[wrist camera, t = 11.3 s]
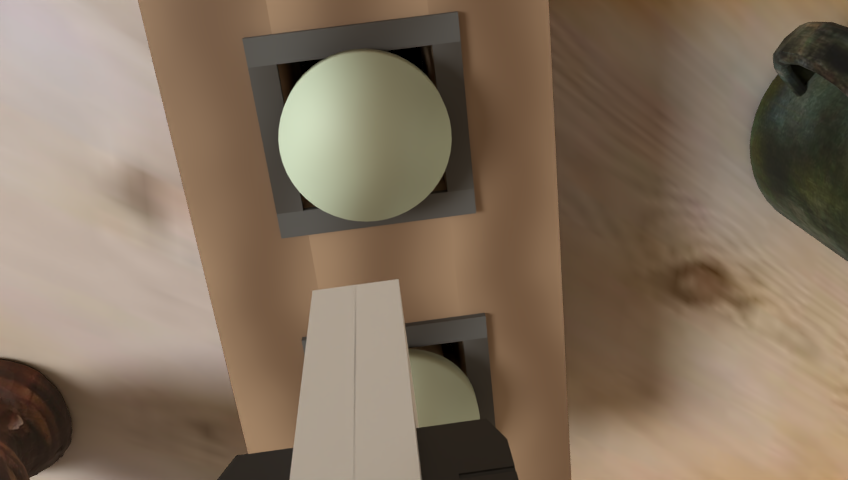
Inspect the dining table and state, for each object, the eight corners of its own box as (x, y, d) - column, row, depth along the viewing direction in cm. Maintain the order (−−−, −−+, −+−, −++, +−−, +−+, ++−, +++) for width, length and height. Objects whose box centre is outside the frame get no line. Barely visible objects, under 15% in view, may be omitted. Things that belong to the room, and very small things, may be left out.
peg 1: (308, 166, 36) (294, 231, 28) (284, 31, 33) (263, 65, 26) (439, 149, 36) (459, 209, 29) (424, 14, 34) (442, 42, 26)
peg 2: (347, 388, 40) (344, 494, 33) (329, 284, 38) (321, 373, 31) (462, 372, 41) (485, 474, 33) (451, 267, 38) (473, 352, 31)
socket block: (283, 427, 43) (266, 537, 35) (182, -34, 34) (130, -19, 26) (535, 392, 43) (573, 494, 36) (505, -73, 34) (547, -69, 26)
